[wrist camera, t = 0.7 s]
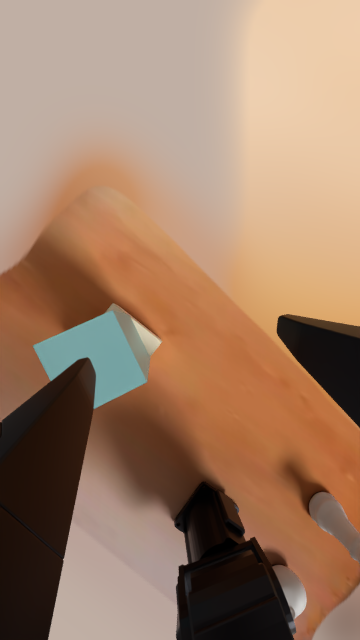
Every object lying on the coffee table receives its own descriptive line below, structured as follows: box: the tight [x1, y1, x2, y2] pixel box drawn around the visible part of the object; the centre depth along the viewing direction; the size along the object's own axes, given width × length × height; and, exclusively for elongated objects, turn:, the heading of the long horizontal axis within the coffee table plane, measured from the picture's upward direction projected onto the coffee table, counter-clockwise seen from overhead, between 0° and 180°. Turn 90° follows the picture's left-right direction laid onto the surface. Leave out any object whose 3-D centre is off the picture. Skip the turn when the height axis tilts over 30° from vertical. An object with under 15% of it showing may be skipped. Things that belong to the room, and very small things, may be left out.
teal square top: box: [33, 310, 150, 409], centre depth 17 cm, size 5×5×9 cm
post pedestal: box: [104, 303, 162, 356], centre depth 22 cm, size 7×7×7 cm
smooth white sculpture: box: [272, 565, 306, 620], centre depth 26 cm, size 4×8×5 cm
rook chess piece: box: [309, 492, 360, 564], centre depth 25 cm, size 4×4×8 cm
